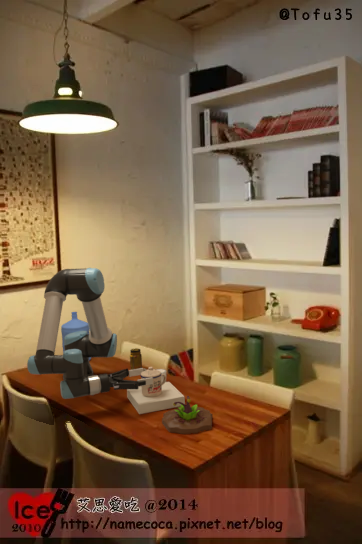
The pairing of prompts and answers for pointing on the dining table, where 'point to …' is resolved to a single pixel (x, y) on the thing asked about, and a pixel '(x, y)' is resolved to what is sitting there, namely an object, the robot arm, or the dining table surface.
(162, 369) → the white cup
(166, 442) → the dining table surface
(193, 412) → the plant
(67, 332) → the water jug
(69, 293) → the robot arm
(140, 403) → the plinth
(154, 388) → the teacup with lid
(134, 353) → the condiment
